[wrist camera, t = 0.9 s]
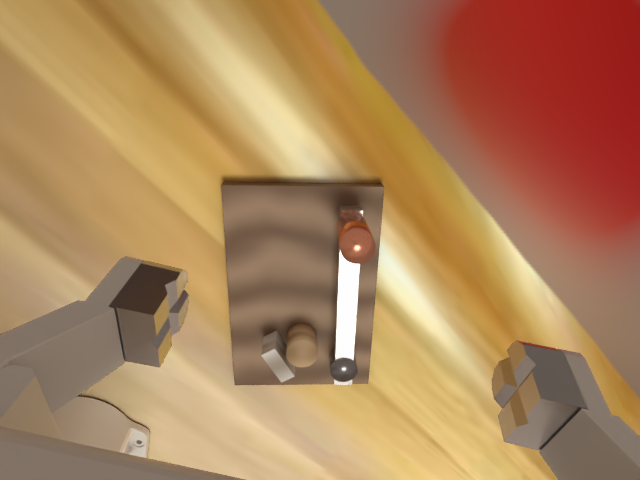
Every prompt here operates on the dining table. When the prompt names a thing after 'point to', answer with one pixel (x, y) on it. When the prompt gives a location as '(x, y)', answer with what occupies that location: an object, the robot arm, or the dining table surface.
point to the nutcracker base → (293, 275)
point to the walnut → (302, 345)
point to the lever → (348, 289)
